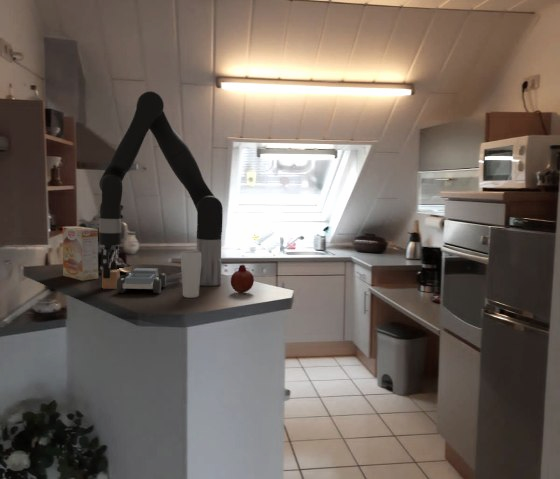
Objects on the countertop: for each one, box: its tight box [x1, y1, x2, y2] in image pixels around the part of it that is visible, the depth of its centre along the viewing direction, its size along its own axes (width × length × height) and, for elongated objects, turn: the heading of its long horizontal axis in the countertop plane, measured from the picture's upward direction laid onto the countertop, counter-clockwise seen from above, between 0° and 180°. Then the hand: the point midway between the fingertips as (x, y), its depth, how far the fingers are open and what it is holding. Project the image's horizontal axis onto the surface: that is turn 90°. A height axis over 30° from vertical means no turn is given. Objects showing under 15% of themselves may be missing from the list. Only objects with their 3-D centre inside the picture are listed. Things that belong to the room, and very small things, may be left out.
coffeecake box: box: [61, 226, 99, 282], centre depth 208 cm, size 15×7×20 cm, turn 49°
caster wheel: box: [99, 257, 132, 272], centre depth 222 cm, size 7×11×10 cm
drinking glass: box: [180, 250, 202, 299], centre depth 178 cm, size 7×7×15 cm
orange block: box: [101, 270, 121, 290], centre depth 191 cm, size 5×5×6 cm
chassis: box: [116, 267, 167, 294], centre depth 187 cm, size 14×16×6 cm
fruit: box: [230, 264, 255, 294], centre depth 186 cm, size 8×8×10 cm
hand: (109, 276), depth 191 cm, fingers open, 8 cm apart
